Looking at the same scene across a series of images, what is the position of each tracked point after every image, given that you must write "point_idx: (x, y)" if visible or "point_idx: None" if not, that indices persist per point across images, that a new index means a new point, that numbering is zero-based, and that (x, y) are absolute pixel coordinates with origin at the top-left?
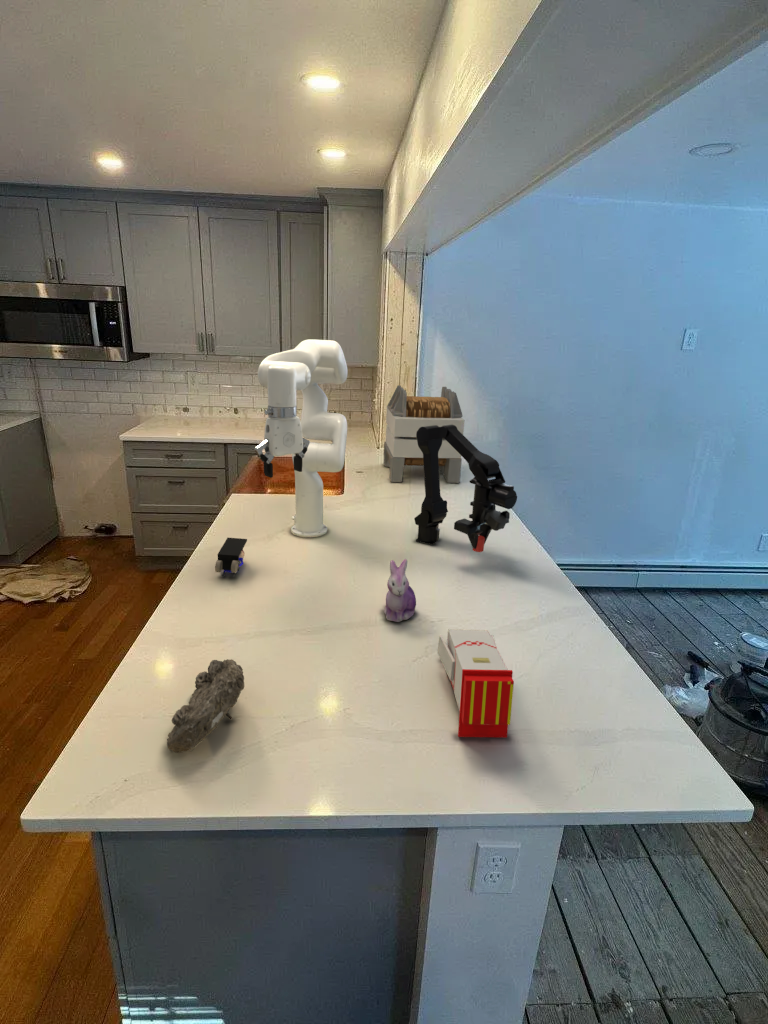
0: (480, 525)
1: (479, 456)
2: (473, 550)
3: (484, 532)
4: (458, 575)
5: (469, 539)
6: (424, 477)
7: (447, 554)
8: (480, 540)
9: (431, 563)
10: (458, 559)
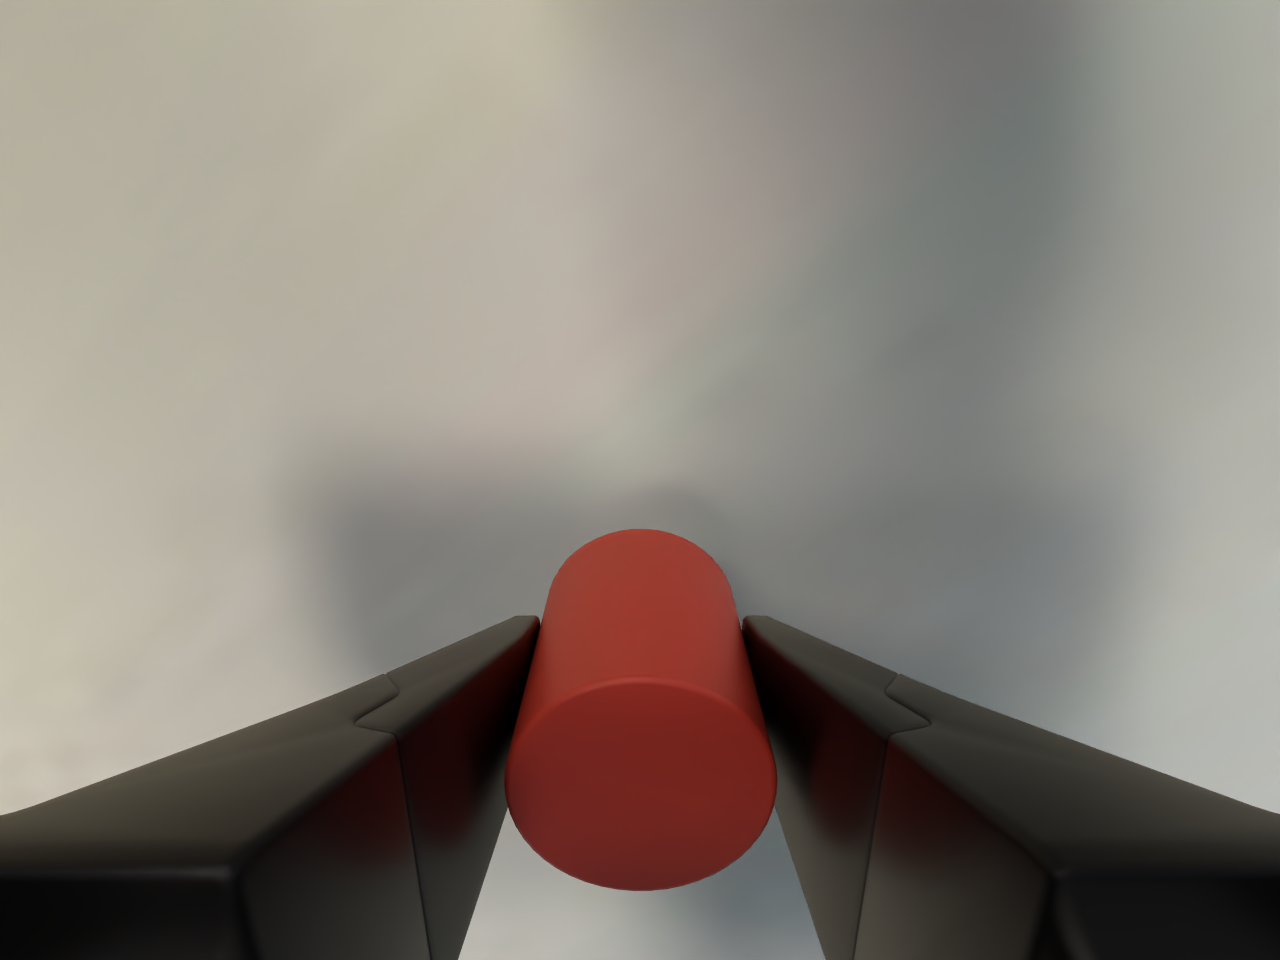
0: (954, 896)
1: None
2: (548, 594)
3: (836, 889)
4: (196, 608)
5: (408, 671)
6: None
7: (499, 48)
8: (561, 854)
9: (52, 147)
10: (514, 300)
